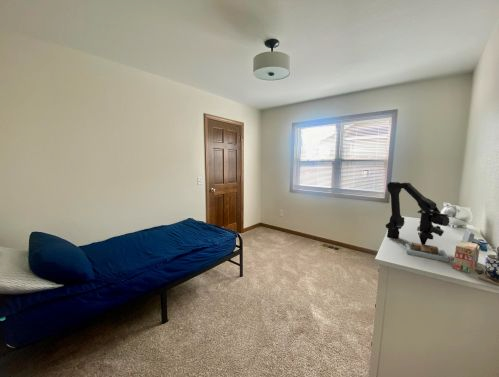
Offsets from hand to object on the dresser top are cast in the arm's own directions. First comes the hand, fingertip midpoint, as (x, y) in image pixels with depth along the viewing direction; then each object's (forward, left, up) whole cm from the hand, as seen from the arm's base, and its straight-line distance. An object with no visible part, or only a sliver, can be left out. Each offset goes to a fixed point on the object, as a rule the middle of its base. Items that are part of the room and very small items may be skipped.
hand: (423, 245), depth 132 cm
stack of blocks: (+16, -17, -2) cm, 23 cm away
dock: (0, -10, -1) cm, 10 cm away
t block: (0, -9, -1) cm, 9 cm away
